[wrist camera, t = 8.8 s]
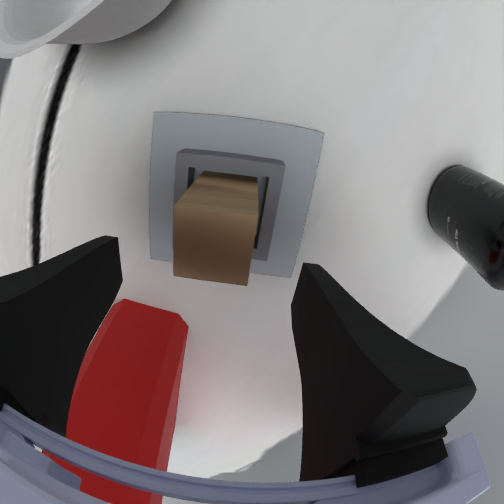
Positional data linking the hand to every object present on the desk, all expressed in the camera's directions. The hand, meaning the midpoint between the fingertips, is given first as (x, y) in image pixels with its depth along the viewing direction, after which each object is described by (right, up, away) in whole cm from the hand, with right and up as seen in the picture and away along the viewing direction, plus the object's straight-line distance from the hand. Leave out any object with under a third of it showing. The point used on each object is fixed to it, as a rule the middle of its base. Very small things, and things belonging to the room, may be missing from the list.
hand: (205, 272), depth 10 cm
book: (-11, -16, +20) cm, 28 cm away
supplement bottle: (+19, +5, +8) cm, 22 cm away
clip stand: (0, +5, +9) cm, 10 cm away
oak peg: (0, +4, +8) cm, 9 cm away
